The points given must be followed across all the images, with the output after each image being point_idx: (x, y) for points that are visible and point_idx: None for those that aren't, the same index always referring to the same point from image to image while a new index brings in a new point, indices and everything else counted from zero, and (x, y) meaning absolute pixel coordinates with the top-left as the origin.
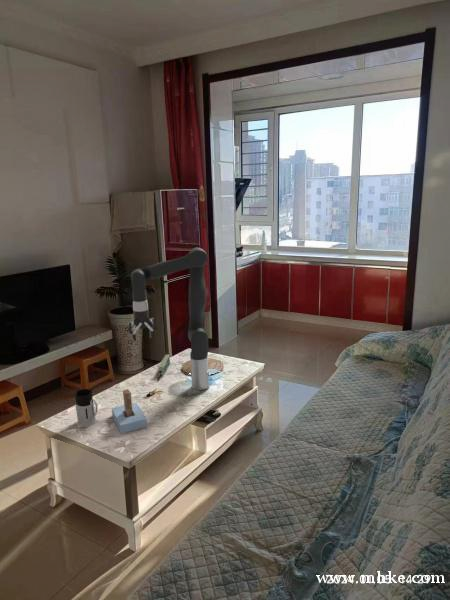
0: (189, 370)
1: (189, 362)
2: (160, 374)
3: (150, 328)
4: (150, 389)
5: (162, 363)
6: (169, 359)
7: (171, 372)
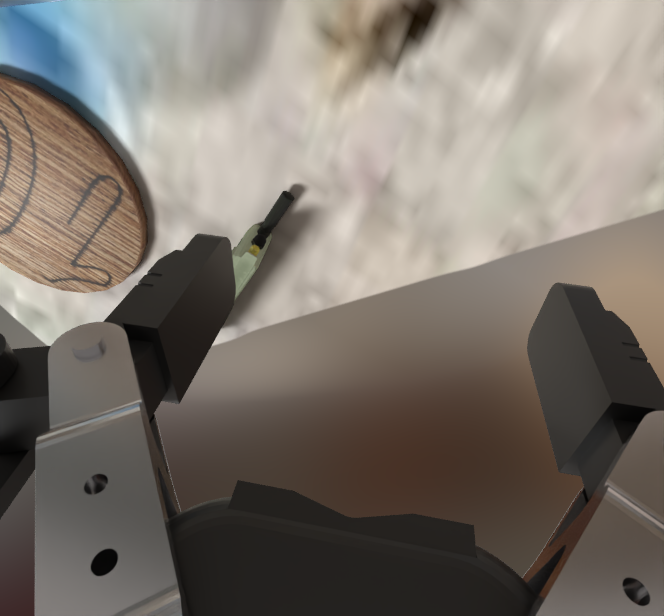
0: (105, 187)
1: (97, 272)
2: (263, 233)
3: (94, 402)
4: (373, 106)
5: None
6: None
7: None
